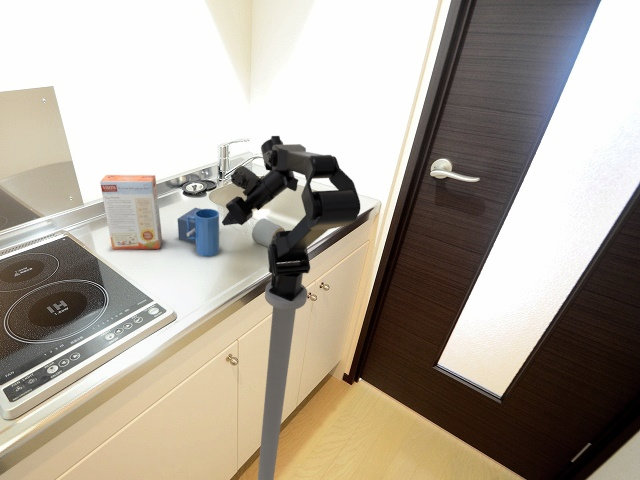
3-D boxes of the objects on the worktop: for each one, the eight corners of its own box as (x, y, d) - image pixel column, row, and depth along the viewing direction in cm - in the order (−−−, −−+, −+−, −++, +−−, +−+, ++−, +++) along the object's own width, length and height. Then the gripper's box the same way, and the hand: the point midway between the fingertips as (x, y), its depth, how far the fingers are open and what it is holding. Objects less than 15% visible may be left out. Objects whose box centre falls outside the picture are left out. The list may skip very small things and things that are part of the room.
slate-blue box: (195, 227, 122) (195, 207, 118) (216, 232, 119) (216, 212, 115) (169, 246, 110) (167, 225, 106) (191, 252, 107) (190, 230, 103)
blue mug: (223, 248, 109) (223, 211, 103) (211, 258, 104) (211, 220, 98) (194, 241, 113) (192, 204, 107) (181, 250, 108) (179, 212, 102)
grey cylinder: (271, 254, 107) (273, 230, 103) (250, 244, 112) (252, 221, 108) (292, 242, 114) (295, 220, 110) (272, 234, 118) (274, 212, 115)
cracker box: (162, 240, 113) (156, 174, 102) (159, 250, 108) (152, 181, 97) (117, 240, 112) (105, 173, 101) (111, 249, 107) (99, 180, 96)
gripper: (266, 149, 95) (228, 183, 105) (233, 168, 81) (193, 205, 91) (292, 184, 96) (252, 214, 106) (264, 208, 82) (221, 240, 92)
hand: (231, 217), depth 99 cm, fingers open, 9 cm apart
